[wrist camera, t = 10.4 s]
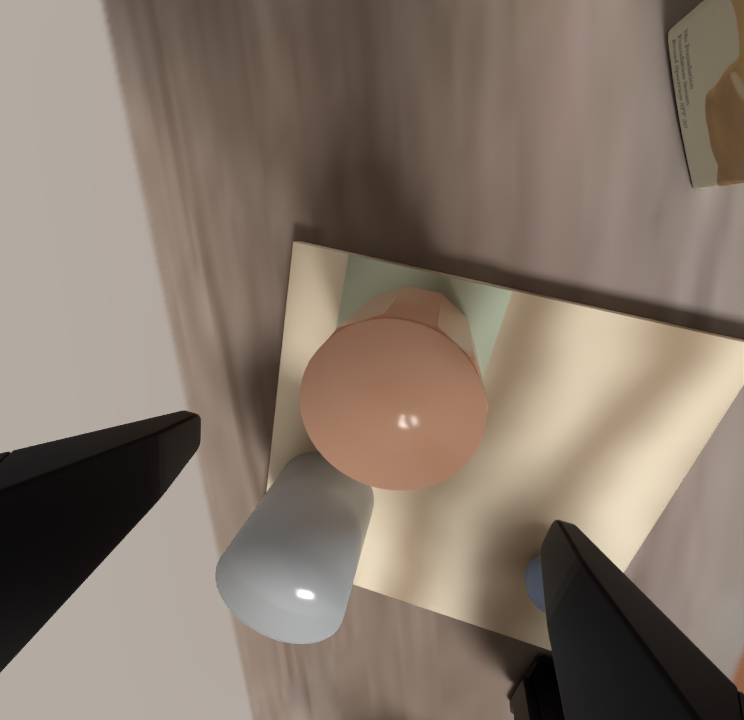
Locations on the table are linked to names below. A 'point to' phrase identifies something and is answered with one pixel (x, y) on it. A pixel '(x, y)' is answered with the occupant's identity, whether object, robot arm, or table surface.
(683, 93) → the skincare box
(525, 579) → the blue ellipsoid
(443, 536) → the birch board
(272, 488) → the grey rounded piece
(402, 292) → the peach domed cylinder
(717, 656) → the table surface
